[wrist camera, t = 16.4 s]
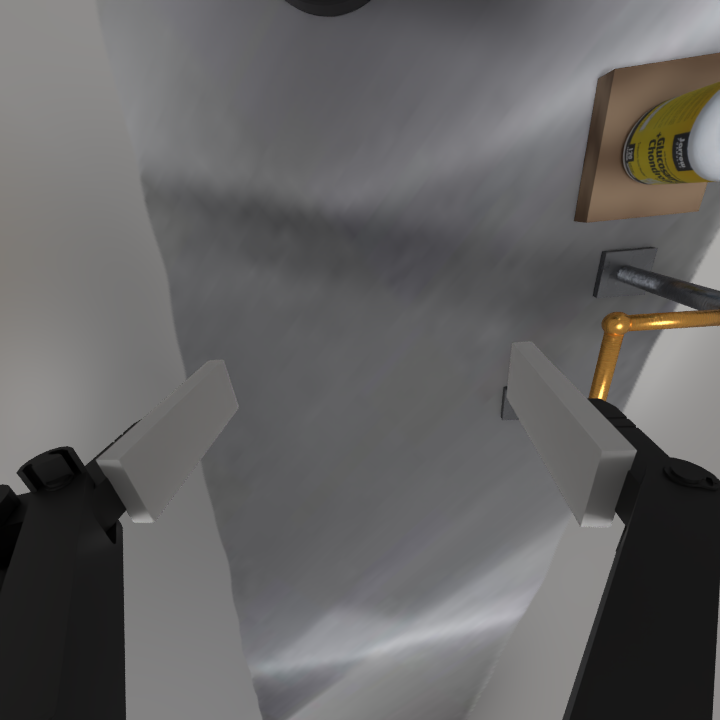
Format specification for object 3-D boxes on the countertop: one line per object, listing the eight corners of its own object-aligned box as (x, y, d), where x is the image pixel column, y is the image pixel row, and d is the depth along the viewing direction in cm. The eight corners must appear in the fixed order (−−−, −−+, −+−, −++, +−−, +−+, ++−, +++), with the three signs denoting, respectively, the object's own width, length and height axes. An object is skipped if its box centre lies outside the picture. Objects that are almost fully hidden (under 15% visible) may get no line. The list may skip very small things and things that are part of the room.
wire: (516, 259, 37) (594, 297, 23) (652, 247, 35) (827, 280, 21) (500, 416, 47) (548, 512, 32) (606, 413, 45) (705, 512, 31)
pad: (598, 78, 30) (615, 69, 27) (722, 59, 28) (750, 48, 26) (574, 220, 35) (586, 222, 33) (678, 210, 33) (698, 211, 31)
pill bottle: (612, 128, 29) (733, 89, 19) (696, 81, 27) (883, 10, 17) (626, 199, 31) (741, 199, 21) (704, 160, 29) (873, 140, 19)
